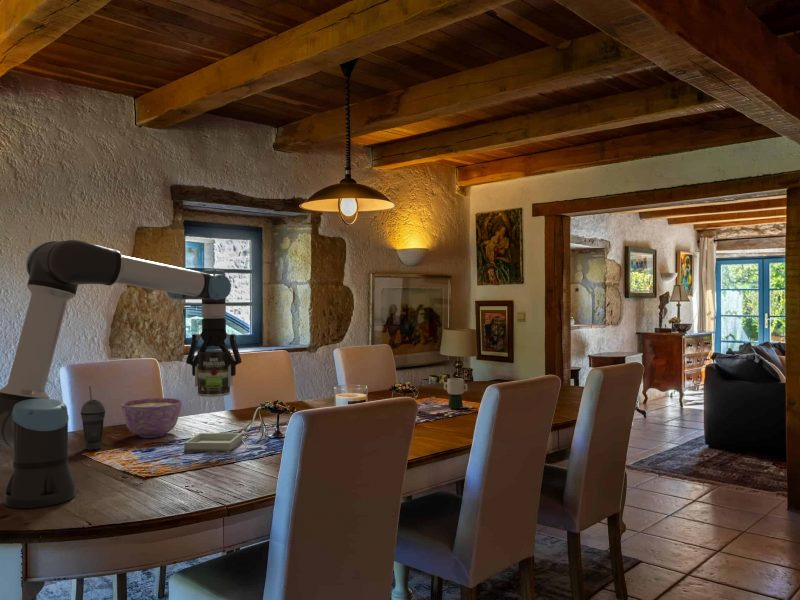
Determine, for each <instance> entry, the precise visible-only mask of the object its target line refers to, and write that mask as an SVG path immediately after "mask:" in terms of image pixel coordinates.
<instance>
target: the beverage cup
mask: <svg viewBox="0 0 800 600" xmlns="http://www.w3.org/2000/svg"><path fill="white" fill-rule="evenodd" d="M91 386H92V385H89V386H88V390H89V399H90V400H88V401H85V403H83V405H82V407H81V409H80V410H81V411H80V417H81V420H82V430H83V441H84V449H85V450H86V449H88V450H87V451H93V450H92V449H96V450H99V449H98V448H100V449H101V448H102V441H103V433H104V432H103V431H104V419H105V416H106V408H105V405H104V403H102V402H101V401H100V400H98V399H93V396H92V395H93V394H92V389H91V388H92V387H91ZM89 449H90V450H89Z"/></svg>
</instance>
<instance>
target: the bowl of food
mask: <svg viewBox="0 0 800 600" xmlns="http://www.w3.org/2000/svg"><path fill="white" fill-rule="evenodd" d="M182 402H183V401H182V400H181V399H178V398H171V397H170V398H169V397H156V398H155V397H153V398H152V397H151V398H140V399H134V400H128V401H123V402H122V403H121V404H120V407H121V409H122V413H123V418H124V421H125V425H126V427H127V429H128V430H129V431H130V433H133V434H135V435H139V437H140V438H145V439H151V438H152V439H153V438H159V437H163V436H165V434H166V433H169V432H171V431H172V430H173V429H174V428H175V426H176V425H177V423H178V420H179V416H180V412H181V407H182Z"/></svg>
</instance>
